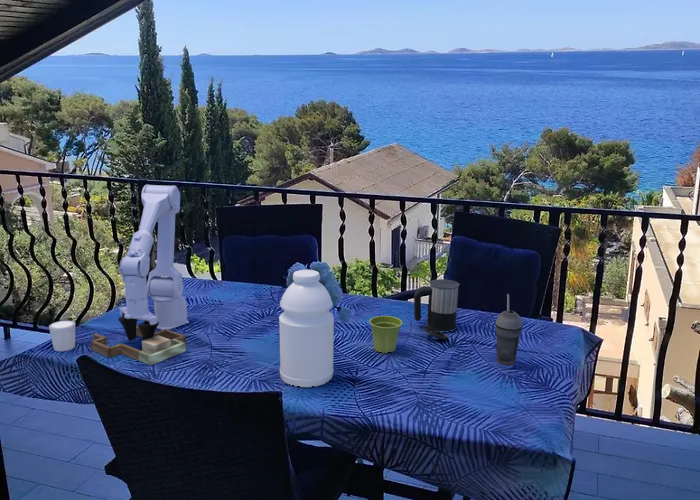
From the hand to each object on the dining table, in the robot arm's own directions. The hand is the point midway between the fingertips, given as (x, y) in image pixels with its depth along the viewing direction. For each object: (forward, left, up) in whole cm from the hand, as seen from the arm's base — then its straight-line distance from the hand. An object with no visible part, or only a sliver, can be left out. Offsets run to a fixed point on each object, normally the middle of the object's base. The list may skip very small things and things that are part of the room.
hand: (140, 342), depth 179 cm
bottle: (-14, +50, -2) cm, 52 cm away
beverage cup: (-52, +89, -2) cm, 103 cm away
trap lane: (0, -1, -1) cm, 2 cm away
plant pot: (-41, +57, -2) cm, 70 cm away
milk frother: (-63, +63, -2) cm, 89 cm away
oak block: (0, +8, -1) cm, 8 cm away
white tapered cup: (+13, -17, -2) cm, 21 cm away
